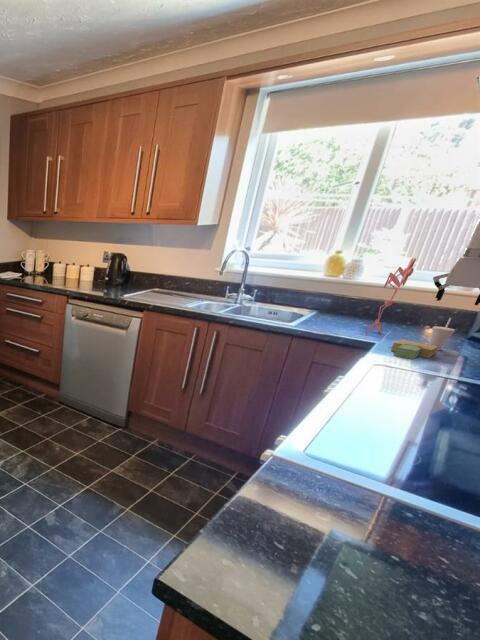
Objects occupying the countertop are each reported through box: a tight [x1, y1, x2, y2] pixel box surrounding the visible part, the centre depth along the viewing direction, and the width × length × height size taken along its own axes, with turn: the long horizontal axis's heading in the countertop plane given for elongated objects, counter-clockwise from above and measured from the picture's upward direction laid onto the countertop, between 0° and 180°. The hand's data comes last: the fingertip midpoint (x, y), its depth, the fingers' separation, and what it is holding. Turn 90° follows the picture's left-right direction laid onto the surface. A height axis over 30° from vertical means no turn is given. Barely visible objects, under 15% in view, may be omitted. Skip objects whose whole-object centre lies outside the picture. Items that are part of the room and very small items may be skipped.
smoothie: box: [428, 317, 456, 351], centre depth 172 cm, size 6×6×14 cm
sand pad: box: [390, 338, 438, 359], centre depth 170 cm, size 11×11×4 cm
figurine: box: [362, 257, 417, 340], centre depth 192 cm, size 15×26×35 cm, turn 136°
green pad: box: [393, 344, 421, 360], centre depth 166 cm, size 6×10×4 cm, turn 125°
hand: (456, 302), depth 156 cm, fingers open, 9 cm apart
